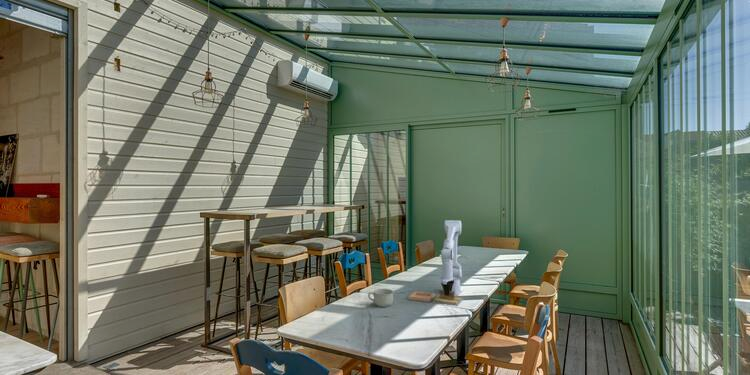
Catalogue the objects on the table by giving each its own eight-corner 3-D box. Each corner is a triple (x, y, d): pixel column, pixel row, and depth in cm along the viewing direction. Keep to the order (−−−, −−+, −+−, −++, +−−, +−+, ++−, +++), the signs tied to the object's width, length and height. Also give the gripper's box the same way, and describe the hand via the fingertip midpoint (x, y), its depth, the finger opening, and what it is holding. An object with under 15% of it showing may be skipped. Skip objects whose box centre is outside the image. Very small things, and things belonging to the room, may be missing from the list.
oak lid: (439, 296, 229) (439, 287, 229) (461, 298, 224) (461, 289, 224) (432, 301, 217) (432, 293, 218) (456, 304, 212) (455, 295, 212)
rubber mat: (439, 296, 230) (439, 295, 230) (463, 299, 224) (463, 298, 224) (432, 303, 217) (432, 302, 217) (457, 305, 211) (457, 304, 211)
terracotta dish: (415, 294, 235) (415, 291, 235) (434, 296, 230) (434, 293, 230) (408, 299, 224) (408, 296, 224) (428, 302, 219) (428, 298, 219)
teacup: (394, 303, 219) (394, 288, 219) (393, 308, 208) (392, 293, 208) (369, 302, 220) (369, 288, 220) (367, 308, 209) (366, 293, 209)
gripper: (444, 267, 229) (444, 290, 229) (437, 272, 216) (437, 296, 216) (456, 268, 226) (456, 292, 226) (449, 273, 213) (450, 298, 213)
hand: (448, 294), depth 220 cm, fingers open, 4 cm apart
